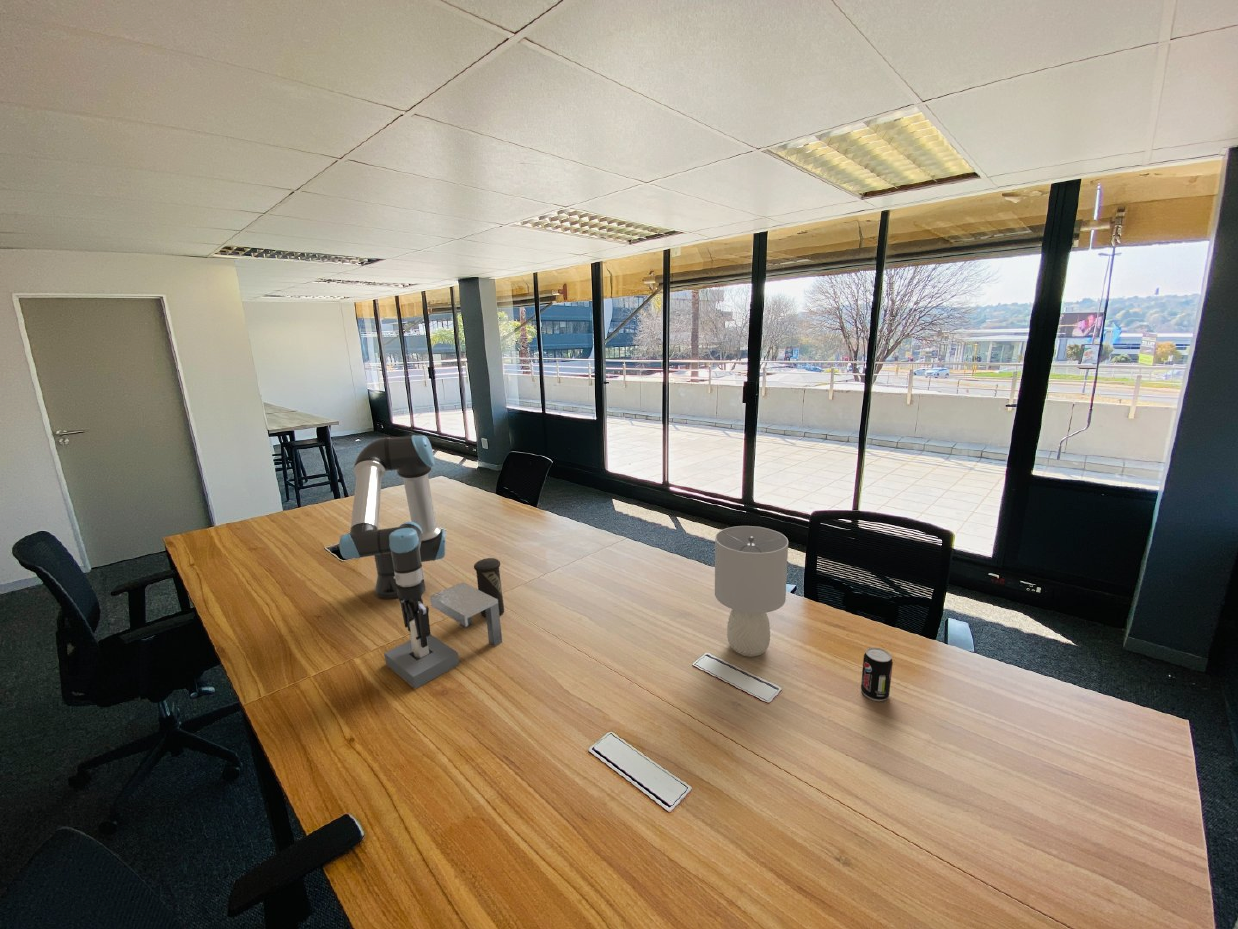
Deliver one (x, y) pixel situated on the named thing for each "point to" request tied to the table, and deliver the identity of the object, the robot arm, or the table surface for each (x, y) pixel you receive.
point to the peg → (414, 639)
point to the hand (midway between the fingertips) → (420, 652)
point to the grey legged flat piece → (469, 608)
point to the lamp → (750, 583)
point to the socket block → (421, 662)
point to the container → (490, 580)
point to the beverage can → (876, 674)
